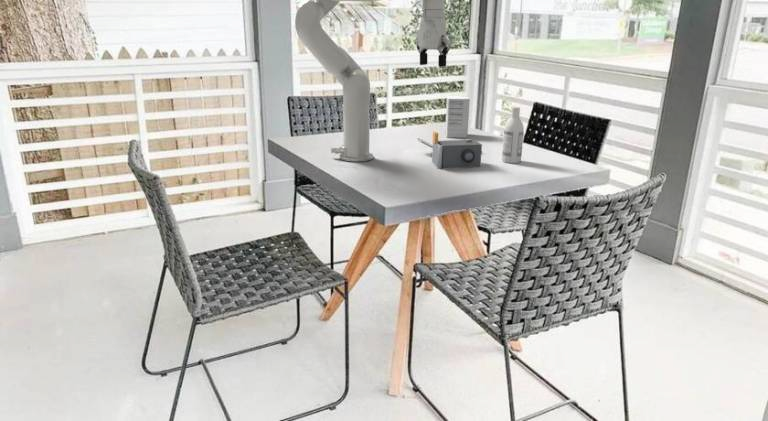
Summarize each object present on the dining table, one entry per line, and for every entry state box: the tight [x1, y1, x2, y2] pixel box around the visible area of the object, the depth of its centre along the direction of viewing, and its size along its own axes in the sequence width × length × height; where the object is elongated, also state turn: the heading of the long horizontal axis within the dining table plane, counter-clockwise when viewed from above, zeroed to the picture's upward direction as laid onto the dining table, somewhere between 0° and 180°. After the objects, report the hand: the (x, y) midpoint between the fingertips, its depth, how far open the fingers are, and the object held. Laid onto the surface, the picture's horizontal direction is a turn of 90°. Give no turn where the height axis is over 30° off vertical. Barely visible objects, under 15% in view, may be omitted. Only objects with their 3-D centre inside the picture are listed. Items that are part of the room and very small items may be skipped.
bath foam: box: [501, 106, 524, 164], centre depth 215 cm, size 7×7×20 cm
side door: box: [431, 131, 442, 170], centre depth 210 cm, size 1×9×11 cm, turn 10°
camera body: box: [438, 138, 483, 169], centre depth 211 cm, size 14×10×9 cm
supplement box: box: [444, 95, 471, 139], centre depth 258 cm, size 10×9×17 cm
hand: (432, 65), depth 211 cm, fingers open, 9 cm apart
